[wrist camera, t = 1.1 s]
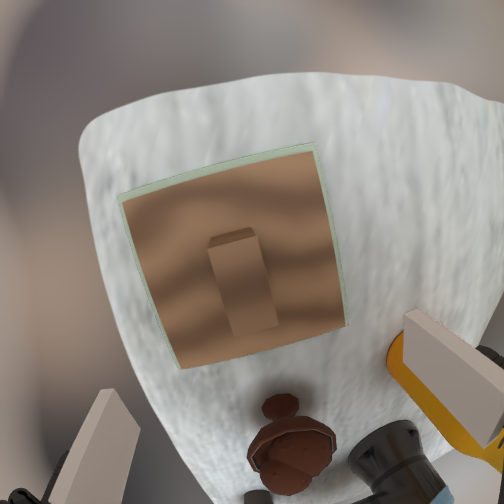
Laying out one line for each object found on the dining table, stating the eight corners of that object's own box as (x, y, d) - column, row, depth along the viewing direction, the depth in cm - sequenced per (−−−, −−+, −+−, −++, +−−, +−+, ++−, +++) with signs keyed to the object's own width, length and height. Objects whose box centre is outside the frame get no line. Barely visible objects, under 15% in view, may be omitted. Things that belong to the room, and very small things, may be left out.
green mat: (346, 322, 34) (349, 324, 33) (179, 366, 33) (178, 370, 32) (312, 143, 29) (314, 142, 28) (119, 195, 28) (116, 195, 27)
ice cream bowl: (283, 438, 37) (301, 512, 23) (226, 412, 35) (230, 498, 21) (331, 398, 36) (369, 472, 22) (277, 366, 34) (304, 454, 19)
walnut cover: (341, 320, 33) (367, 350, 25) (183, 362, 32) (174, 401, 25) (308, 152, 28) (333, 140, 21) (126, 201, 28) (96, 205, 20)
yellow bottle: (432, 313, 35) (572, 414, 7) (430, 359, 37) (538, 463, 9) (383, 337, 35) (519, 480, 7) (384, 383, 37) (484, 515, 9)
